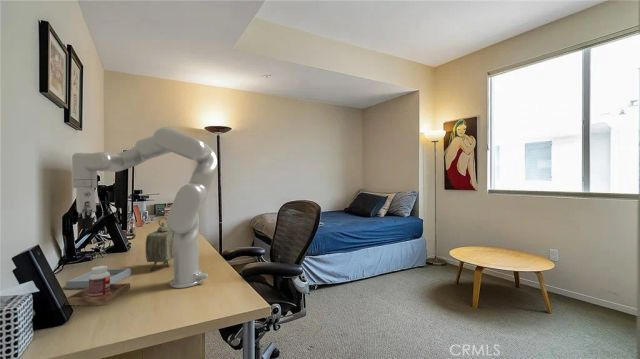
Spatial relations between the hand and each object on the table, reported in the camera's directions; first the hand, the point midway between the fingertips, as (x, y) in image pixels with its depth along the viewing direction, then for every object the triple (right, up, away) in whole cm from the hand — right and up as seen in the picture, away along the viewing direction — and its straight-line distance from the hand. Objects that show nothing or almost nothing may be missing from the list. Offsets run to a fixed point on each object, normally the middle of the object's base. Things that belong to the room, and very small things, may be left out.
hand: (85, 227), depth 110 cm
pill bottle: (+11, -25, -7) cm, 28 cm away
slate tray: (-2, -25, +10) cm, 27 cm away
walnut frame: (+11, -25, -7) cm, 28 cm away
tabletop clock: (+15, -25, +29) cm, 41 cm away
